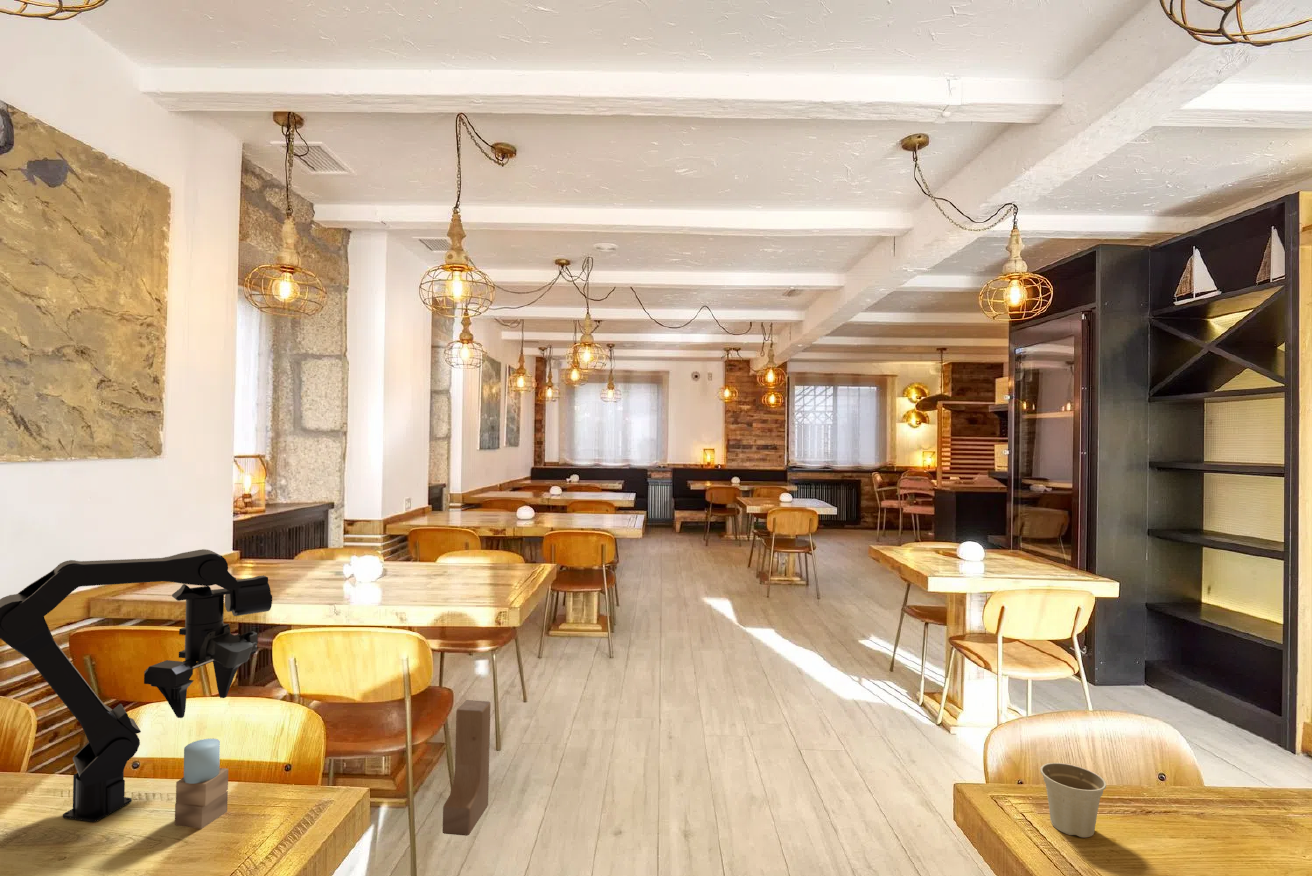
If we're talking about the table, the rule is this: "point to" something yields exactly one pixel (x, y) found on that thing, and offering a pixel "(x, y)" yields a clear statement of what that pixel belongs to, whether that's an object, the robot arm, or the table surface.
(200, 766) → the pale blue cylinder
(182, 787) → the upper block
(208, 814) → the lower block
